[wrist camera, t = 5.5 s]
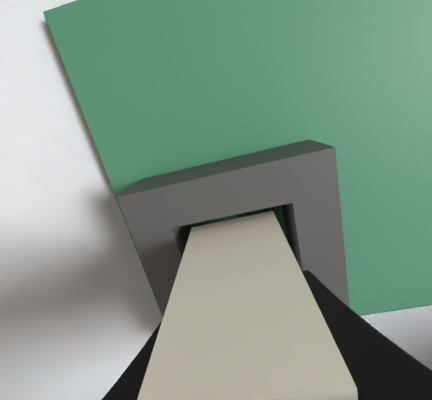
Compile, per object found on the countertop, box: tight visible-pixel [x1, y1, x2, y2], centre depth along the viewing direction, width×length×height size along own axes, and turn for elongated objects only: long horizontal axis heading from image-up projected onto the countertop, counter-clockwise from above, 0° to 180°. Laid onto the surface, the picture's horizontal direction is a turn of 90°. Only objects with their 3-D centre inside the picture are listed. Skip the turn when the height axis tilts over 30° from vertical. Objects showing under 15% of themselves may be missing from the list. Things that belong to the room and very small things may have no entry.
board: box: [43, 0, 432, 317], centre depth 9 cm, size 14×16×3 cm
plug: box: [137, 211, 358, 400], centre depth 7 cm, size 3×4×6 cm, turn 14°
